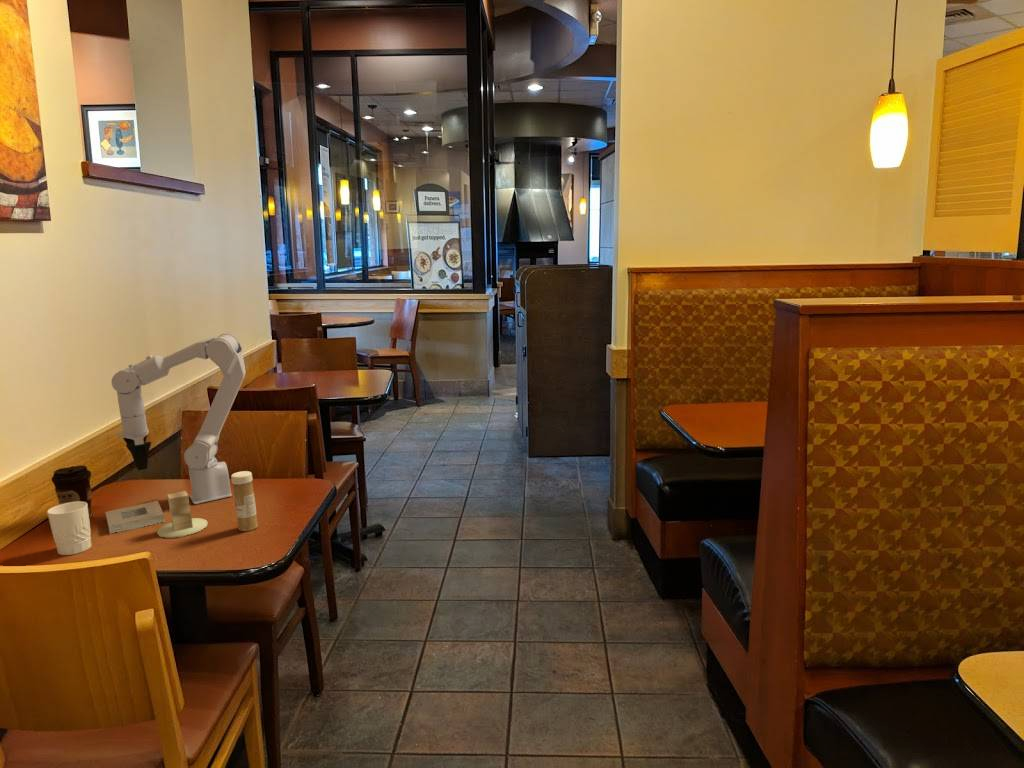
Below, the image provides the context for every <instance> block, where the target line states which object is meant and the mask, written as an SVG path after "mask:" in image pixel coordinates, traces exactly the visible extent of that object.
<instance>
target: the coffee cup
mask: <svg viewBox="0 0 1024 768" xmlns="http://www.w3.org/2000/svg"><path fill="white" fill-rule="evenodd" d="M91 476H92V472H91V471H90V470H88V466H86V465H73V466H69V467H61V468H58V469H56V470H55V471H53V475H52V477H51V482H52V483H53V485H54V488H55V489H54V491H55V494H56V497H57V500H58V505H60V504H64V503H69V502H77V501H82V502H86V503H87V504H88V513H89V516H91V515H92V514H93V512H92V486H91Z"/></svg>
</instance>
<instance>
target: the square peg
mask: <svg viewBox="0 0 1024 768" xmlns="http://www.w3.org/2000/svg"><path fill="white" fill-rule="evenodd" d="M189 498H190V497H189V495H188V492H187V491H186V490H183V491H179V492H178V491H177V492H174V493H173V492H172V493H168V494H167V501H168V507H169V513H170V518H171V519H170V520H171V522H172V527H173V529H174V531H179V530H184V529H188V528H192V527H193V525H192V518H193V517H192V511H191V506H190V499H189Z"/></svg>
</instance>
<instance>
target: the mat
mask: <svg viewBox="0 0 1024 768" xmlns="http://www.w3.org/2000/svg"><path fill="white" fill-rule="evenodd" d="M191 518H192V525H193V527H192V528H188V529H184V530H179V531H174V529H173V527H172V521H171V522H168V523H166V524H164V525H162V526H161V527H159V528H158V530H157V531H156V532H157V535H159V536H158V537H160V538H162V537H165V538H164V539H175V538H174V537H179V538H184V537H183V536H185V537H188V536H187V535H189V536H192V535H195V534H198V533H200V532H202V531H203V529H204V528H205V529H206V528H207V527H208V525H209V524H208V520H206V519H204V518H199V517H194V518H193V517H191ZM205 529H204V530H205ZM201 530H202V531H201ZM199 531H200V532H199ZM197 532H198V533H197ZM194 533H195V534H194ZM191 534H192V535H191Z"/></svg>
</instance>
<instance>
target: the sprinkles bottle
mask: <svg viewBox="0 0 1024 768" xmlns="http://www.w3.org/2000/svg"><path fill="white" fill-rule="evenodd" d="M230 479H231V484H232V486H233V493H234V503H235V511H236V517H237V524H238V525H237V530H239V531H241V532H251V531H253V530H255V529H257V528H258V527H259V522H258V518H257V507H256V499H255V492H254V488H253V473H252V472H251V471H248V470H244V471H237V472H234V473H232V474H231V476H230Z"/></svg>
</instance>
